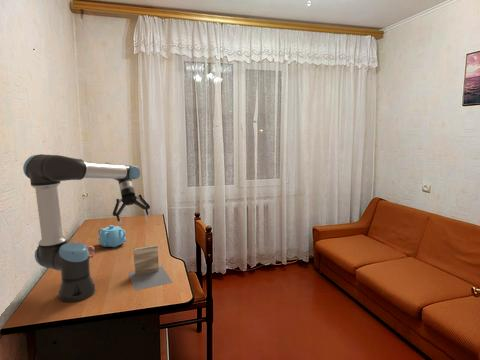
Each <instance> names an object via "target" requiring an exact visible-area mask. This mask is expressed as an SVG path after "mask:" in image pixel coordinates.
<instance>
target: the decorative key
mask: <svg viewBox="0 0 480 360" xmlns="http://www.w3.org/2000/svg"><path fill="white" fill-rule="evenodd" d="M87 248H88V249H89V248H91V249H92V251H90V253H91V255H90V254H89V258H92V257H94V255H95V253H94V251H95V247H94V246H93V245H88V246H87Z"/></svg>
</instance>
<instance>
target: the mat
mask: <svg viewBox="0 0 480 360" xmlns="http://www.w3.org/2000/svg"><path fill="white" fill-rule="evenodd" d="M128 275H129V278H130V281H131V284H132V286H133V288H134V291H139V290H140V291H141V290H145V289H149V288H154V287H159V286H163V285H167V284H172V283H173V281H172V280H171V277H170V276H169V275H168V273H167V272H166V270H165V268H164V267H163V266H162V265H161V266H159V271H155V272H150V273H145V274H140V275H135V271H131V272H128Z"/></svg>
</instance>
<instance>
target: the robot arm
mask: <svg viewBox="0 0 480 360" xmlns="http://www.w3.org/2000/svg"><path fill="white" fill-rule="evenodd" d="M22 170H23V174H24V175H25V177H27V178H28V179H29V181H30V186H31V187H32V188H33V189H35V194H36V203H37V204H36V205H37V212H38V213H37V214H38V220H39V228H40V229H39V230H40V236H41V239H40V240H39V241H38V242H37V243H38V244H37V245H38V246H37V247H36V250H35V251H34V260H35V261H36V263H37V265H39V266H40V267H44V268H46V269H51V270H55V271H59V272H60V274H61V284H60V288H59V290H58V299H59V301H61V302H64V303H73V302H79V301H84V300H85V299H88V298H89V297H91V296H93V295H94V294H95V292H96V286H95V283H94V281H93V279H92V277H91V268H90V257H89V255H90V252H89V248H87V247H88V246H87V244H85V243H81V242H77V241H76V242H68V237H66V236H64V235H63V226H62V218H61V210H60V209H61V208H60V200H59V192H58V186H60V184H61V182H65V181H66V182H67V181H73V180H74V181H82V180H83V179H84V178H85V179H88V178H89V179H108V180H110V179H113V180H115V181H118V186H119V191H120V196H121V198H120V199H119V198H116V201H115V202H116V203H115V206H114V209H113V212H112V216H113V217H116V220H117V222H119V223H120V227H121V228H123V222H122V217H121V214H122V212H123V211H124V208H125V207H126V206H133V205H135V206H138V207H139V208H141V209H142V210H143V212H144V216H145V218H144V219H145V221H146V223H147V222H148V221H149V219H148V216H149V210H150V209H151V205H150V204H149V203H148V202H147V201H146V199H144V198H143V196H142V195H141V194H138V195H136V193H135V188H134V184H133V180H138V179H139V178H140V176H141V169H140V168H139V166H136V165H126V164H115V163H114V164H113V163H111V162H105V163H102V162H93V161H92V162H91V161H85V160H83V159H82V158H74V157H68V156H65V155H59V154H44V153H43V154H33V155H31V156H29V157H28V158H27V159H26V160H25V161H24V164H23V168H22ZM138 200H140V202H139V201H138ZM121 203H122V204H121ZM120 204H121V206H120ZM119 206H120V207H119ZM118 208H119V209H118Z"/></svg>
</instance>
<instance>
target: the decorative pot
mask: <svg viewBox="0 0 480 360" xmlns="http://www.w3.org/2000/svg"><path fill="white" fill-rule="evenodd" d="M97 232H98V243H99V245H101V246H102V247H104V248H109V247H110V248H111V247H112V248H117V247H119V246H121V245H122V244H123V243H126V242H127V238H126V233H127V232H126V231H125V229H123V228H122V227H121V226H119V225H113V224H110V225H108V226H106V227H105V228H104V227H103V228H102V227H101V228H99V229H98V231H97Z"/></svg>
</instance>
